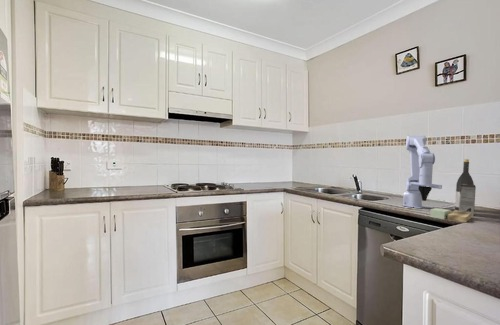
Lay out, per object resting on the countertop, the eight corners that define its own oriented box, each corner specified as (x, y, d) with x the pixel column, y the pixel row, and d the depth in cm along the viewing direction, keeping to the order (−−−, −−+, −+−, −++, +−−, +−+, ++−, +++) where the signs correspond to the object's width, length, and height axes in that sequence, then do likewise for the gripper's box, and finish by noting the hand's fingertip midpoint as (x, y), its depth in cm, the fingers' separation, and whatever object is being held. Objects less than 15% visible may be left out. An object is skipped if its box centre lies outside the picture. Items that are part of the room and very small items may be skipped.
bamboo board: (447, 219, 127) (447, 214, 127) (454, 214, 137) (454, 210, 137) (465, 222, 122) (465, 217, 122) (471, 217, 132) (471, 212, 132)
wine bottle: (456, 210, 150) (459, 159, 149) (453, 207, 157) (456, 159, 156) (474, 212, 146) (477, 159, 145) (470, 209, 153) (473, 159, 152)
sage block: (430, 217, 132) (430, 209, 132) (436, 215, 136) (437, 207, 136) (444, 219, 127) (444, 211, 127) (450, 217, 132) (450, 210, 131)
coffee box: (458, 211, 146) (460, 183, 146) (473, 213, 142) (475, 184, 142) (458, 214, 139) (460, 184, 139) (474, 216, 135) (475, 185, 135)
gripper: (408, 174, 141) (406, 199, 142) (440, 177, 131) (438, 203, 131) (412, 174, 146) (411, 197, 147) (443, 176, 135) (442, 202, 136)
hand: (424, 200), depth 139 cm, fingers closed
